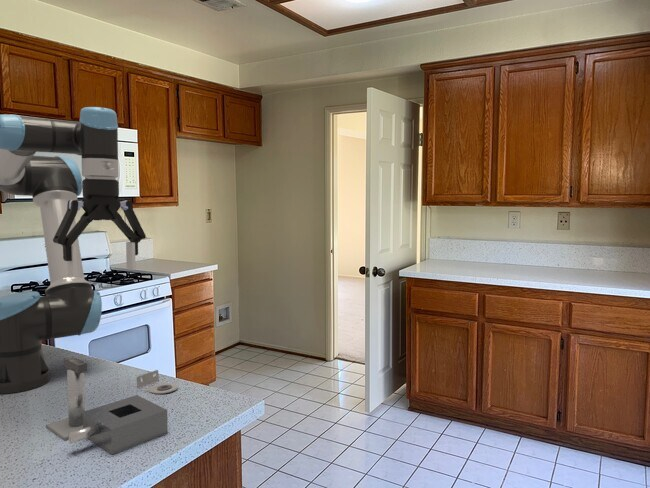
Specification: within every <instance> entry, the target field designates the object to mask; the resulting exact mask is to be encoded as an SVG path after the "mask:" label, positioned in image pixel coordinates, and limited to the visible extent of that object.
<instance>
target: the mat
mask: <svg viewBox="0 0 650 488" xmlns="http://www.w3.org/2000/svg"><path fill="white" fill-rule="evenodd" d="M45 426H46V427H45V428H47V429H48V430H49V431H51V432H52V433H53V434H54V435H56V436H57V437H58V438H61V439H62V440H63V441H67V440H68V441H69V438H68V435H69V433H70V432H73V431H76V430H79V429H82V428H83V425H82V426H79V427H70V426H69V419H68V417H66V418H65V417H64V418H63V419H60V420H57V421H54V422H50V423H47V424H45Z"/></svg>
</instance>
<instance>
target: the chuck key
mask: <svg viewBox="0 0 650 488" xmlns="http://www.w3.org/2000/svg"><path fill="white" fill-rule="evenodd" d="M63 367H65V368H66V379H67V381H66V382H67V384H66V386H67V411H68V412H67V415H68V417H67V418H68V419H69V426H70V427H79V426H82V425H83V412H84V411H86V401H85V395H86V393H85V373H88V363H87V362H85V361H83V360H81V359H79V358H77V357H74V356H67V357H64V358H63Z"/></svg>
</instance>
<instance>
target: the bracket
mask: <svg viewBox="0 0 650 488" xmlns="http://www.w3.org/2000/svg"><path fill="white" fill-rule="evenodd" d="M154 374H155V376H154ZM159 375H160V374H159V369H155V370H153V371H150V372H146V373H144V374H140V375H137V376H136V385H137V386H136V389H139V388H140V387H141V388H143V386H144V387H146V386H149V385H151V384H154V383H157V382H160V379H159V378H160V376H159ZM141 378H142V380H141ZM141 388H140V389H141ZM178 388H179V386H178V385H177V384H174V383H173V384H172V383H168V382H161V383H158V384H156V385H153V386H150V388H149V387H148V388H147V389H146V390H143V391H144V392H147V393H151V394H155V395H156V394H157V395H159V394H160V395H161V394H167V393H172V392H174V391H176V390H178Z"/></svg>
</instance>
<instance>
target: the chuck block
mask: <svg viewBox="0 0 650 488" xmlns="http://www.w3.org/2000/svg"><path fill="white" fill-rule="evenodd" d="M168 426H169V425H168V409H167V408H164V407H162V406H160V405H158V404H156V403H154V402H152V401H150V400H148V399H146V398H144V397H142V396H140V395H138V394H136V395H133V396H129V397H126V398H123V399H120V400H117V401H114V402H110V403H107V404H106V403H105V404H104V405H100V406H97V407H94V408H90V409H86V410H85V411H84V412H83V428H82V429H79V430H76V431H73V432H70V433H69V435H68V438H69V439H68V441H69V443H70V444H73V443H77V442H81V441H83V440H86V439H88V440H90V441H91V442H92V443H94V444H95V445H96V446H99V447H100V448H101V449H103V450H104V451H106V452H107V453H109V454H110V455H115V454H117V453H120V452H122V451H125V450H128V449H131V448H133V447H136V446H138V445H141V444H143V443H146V442H149V441H151V440H153V439H156V438H158V437H161V436H164V435H165V434H168V429H169V427H168Z"/></svg>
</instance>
